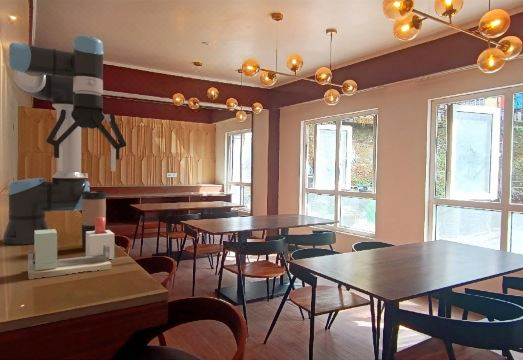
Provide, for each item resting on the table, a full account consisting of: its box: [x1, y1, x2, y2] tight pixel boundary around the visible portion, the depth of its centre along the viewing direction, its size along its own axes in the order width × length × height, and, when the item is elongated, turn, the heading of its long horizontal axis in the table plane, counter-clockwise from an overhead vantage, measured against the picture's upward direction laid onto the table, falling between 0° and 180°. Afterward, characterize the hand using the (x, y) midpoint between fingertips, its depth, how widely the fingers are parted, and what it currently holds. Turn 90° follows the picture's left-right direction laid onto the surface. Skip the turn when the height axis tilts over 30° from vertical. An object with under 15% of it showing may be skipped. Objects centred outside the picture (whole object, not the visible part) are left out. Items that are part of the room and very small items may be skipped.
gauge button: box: [95, 217, 105, 234], centre depth 117 cm, size 3×3×5 cm
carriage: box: [33, 228, 58, 270], centre depth 100 cm, size 6×5×10 cm
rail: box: [27, 244, 112, 280], centre depth 104 cm, size 9×20×6 cm, turn 124°
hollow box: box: [85, 229, 115, 260], centre depth 117 cm, size 8×7×8 cm
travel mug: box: [81, 190, 107, 252], centre depth 129 cm, size 8×8×20 cm
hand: (87, 171), depth 104 cm, fingers open, 13 cm apart
